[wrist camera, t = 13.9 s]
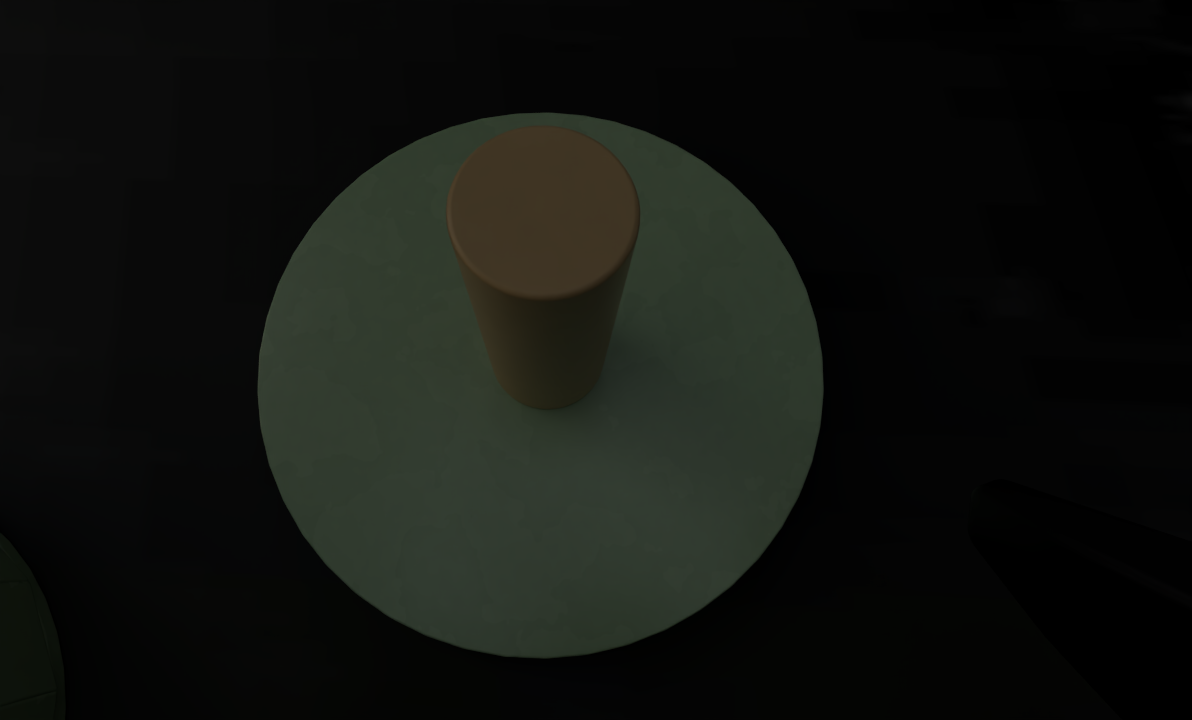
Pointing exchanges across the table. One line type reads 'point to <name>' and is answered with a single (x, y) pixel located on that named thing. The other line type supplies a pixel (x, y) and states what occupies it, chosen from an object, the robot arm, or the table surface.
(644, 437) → the lid
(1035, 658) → the table surface
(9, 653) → the tin
